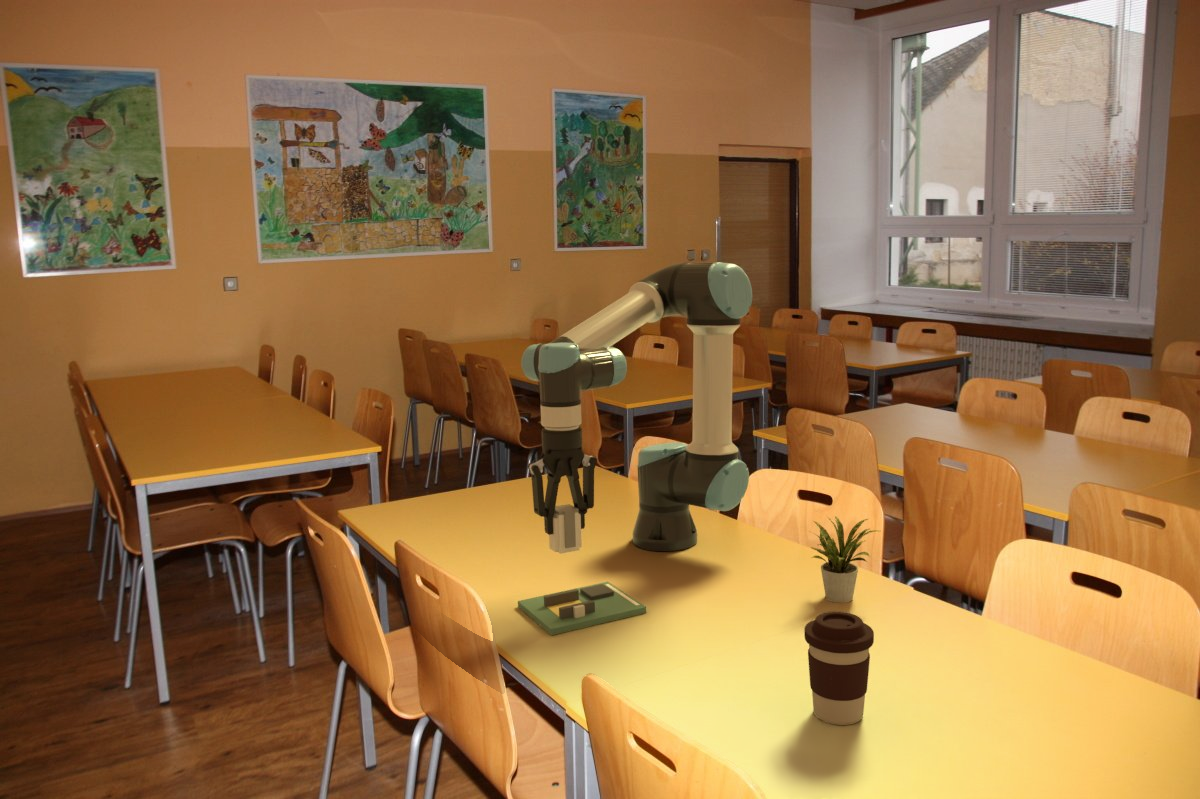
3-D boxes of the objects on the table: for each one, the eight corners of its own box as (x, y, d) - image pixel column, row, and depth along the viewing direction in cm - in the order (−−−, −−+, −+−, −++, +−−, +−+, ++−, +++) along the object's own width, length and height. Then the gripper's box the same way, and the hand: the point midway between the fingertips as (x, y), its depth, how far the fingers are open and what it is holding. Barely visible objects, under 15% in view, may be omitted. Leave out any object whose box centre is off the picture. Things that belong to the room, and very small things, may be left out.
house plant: (889, 589, 194) (890, 510, 191) (877, 615, 181) (879, 531, 178) (817, 581, 200) (817, 504, 197) (801, 605, 187) (801, 523, 184)
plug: (570, 544, 187) (569, 504, 186) (580, 550, 183) (579, 509, 182) (551, 547, 185) (549, 507, 184) (561, 554, 181) (559, 512, 180)
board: (607, 587, 200) (607, 572, 200) (646, 612, 186) (646, 596, 186) (517, 606, 192) (517, 591, 191) (551, 635, 178) (550, 618, 177)
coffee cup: (796, 701, 150) (796, 609, 147) (859, 696, 151) (860, 604, 148) (815, 733, 140) (816, 635, 138) (882, 728, 141) (884, 630, 138)
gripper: (593, 418, 188) (596, 535, 191) (511, 428, 180) (516, 550, 184) (611, 424, 181) (614, 545, 185) (526, 435, 173) (531, 561, 177)
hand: (565, 547), depth 184 cm, fingers closed on plug, 4 cm apart
